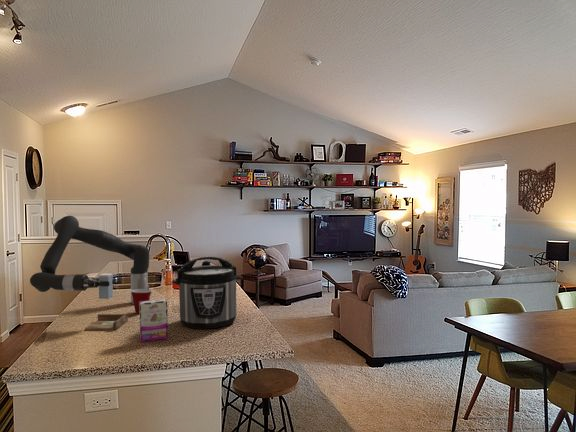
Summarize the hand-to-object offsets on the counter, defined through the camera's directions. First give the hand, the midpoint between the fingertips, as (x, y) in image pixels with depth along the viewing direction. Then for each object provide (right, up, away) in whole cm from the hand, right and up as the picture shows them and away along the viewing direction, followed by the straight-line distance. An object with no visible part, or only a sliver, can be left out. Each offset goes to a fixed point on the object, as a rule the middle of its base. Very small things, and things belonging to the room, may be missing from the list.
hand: (111, 282), depth 202 cm
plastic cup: (+6, -20, +24) cm, 32 cm away
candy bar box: (+26, -21, -20) cm, 39 cm away
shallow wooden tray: (-2, -20, 0) cm, 20 cm away
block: (-3, -7, 0) cm, 8 cm away
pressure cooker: (+45, -20, +5) cm, 49 cm away
